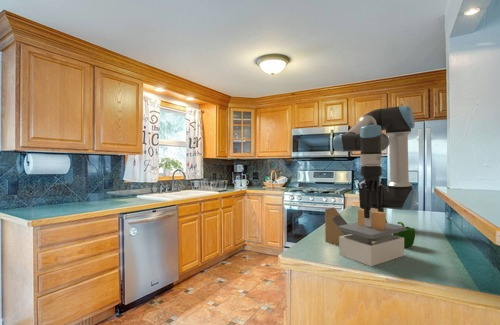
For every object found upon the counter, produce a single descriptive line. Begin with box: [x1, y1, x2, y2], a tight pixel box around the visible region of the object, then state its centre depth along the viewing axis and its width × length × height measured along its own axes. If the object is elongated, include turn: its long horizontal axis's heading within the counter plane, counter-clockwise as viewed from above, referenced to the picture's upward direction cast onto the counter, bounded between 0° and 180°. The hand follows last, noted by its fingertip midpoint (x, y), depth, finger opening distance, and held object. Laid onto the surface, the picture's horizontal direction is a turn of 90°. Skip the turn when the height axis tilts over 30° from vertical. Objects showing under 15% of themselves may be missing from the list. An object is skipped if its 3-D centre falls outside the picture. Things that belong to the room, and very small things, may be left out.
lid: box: [337, 208, 407, 239], centre depth 105 cm, size 21×15×8 cm
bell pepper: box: [392, 221, 416, 248], centre depth 116 cm, size 8×8×10 cm
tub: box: [338, 234, 405, 267], centre depth 105 cm, size 20×14×7 cm
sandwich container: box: [324, 207, 349, 246], centre depth 120 cm, size 9×15×15 cm, turn 46°
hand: (371, 225), depth 105 cm, fingers closed on lid, 3 cm apart
